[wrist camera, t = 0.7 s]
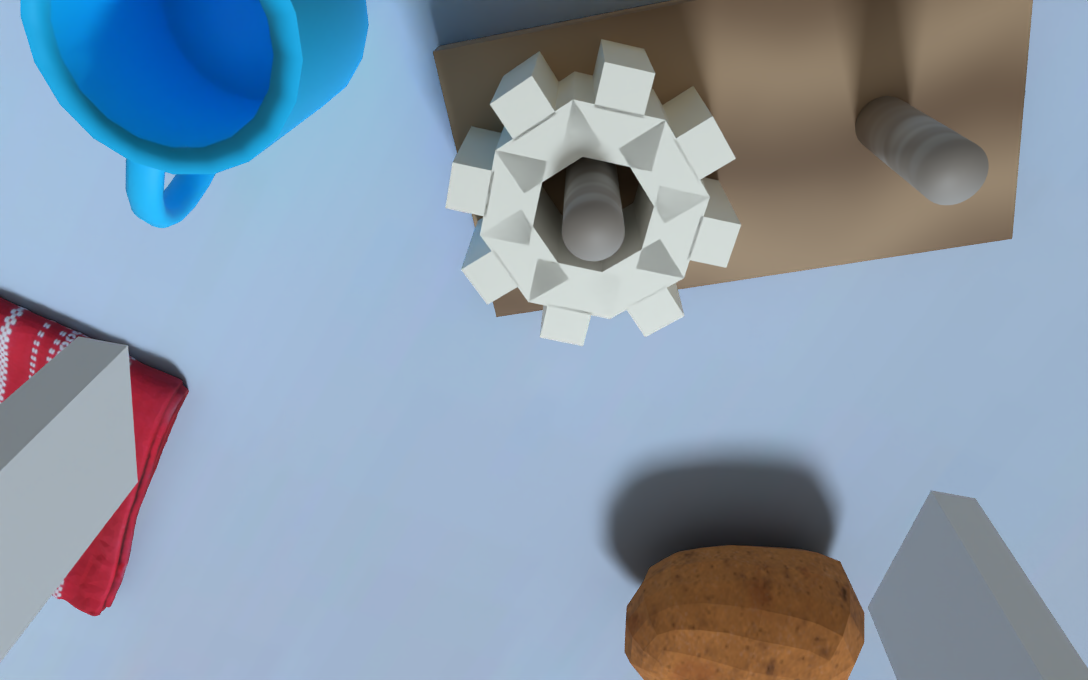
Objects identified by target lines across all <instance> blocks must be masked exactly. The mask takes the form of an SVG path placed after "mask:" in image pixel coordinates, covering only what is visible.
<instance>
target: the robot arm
mask: <svg viewBox="0 0 1088 680" xmlns="http://www.w3.org/2000/svg"><path fill="white" fill-rule="evenodd" d="M137 482H138V478H137V464H136V450H135V436H134V422H133V408H132V394H131V380H130V366H129V352H128V345H123V344H118V343H112V342H107V341H101V340H96V339H90V338H84V337H79V336H78V337H77V338H76V339H75V340H74V341H72V342H71V343H70V344H69V345H68V346H67V347H65V348H64V349H63V350H62V351H61V352H60V353H59V354H57V355H56V356H55V357H54V358H53V359H52V360H50V361H49V362H48V363H47V364H46V365H45V366H44V367H42V368H41V369H40V370H39V371H38V372H37V373H35V374H34V375H33V376H32V377H31V378H30V379H29V380H27V381H26V382H25V383H24V384H23V385H22V386H21V387H19V388H18V389H17V390H16V391H15V392H14V393H12V394H11V395H10V396H9V397H8V398H7V399H6V400H4V401H3V402H2V403H1V404H0V662H1V661H2V660H3V658H4V657H5V656H6V655H7V653H8V652H9V651H10V649H11V648H12V647H13V645H14V644H15V643H16V641H17V640H18V639H19V637H20V636H21V635H22V634H23V632H24V631H25V630H26V628H27V627H28V626H29V624H30V623H31V622H32V620H33V619H34V618H35V616H36V615H37V614H38V612H39V611H40V610H41V609H42V607H43V606H44V605H45V603H46V602H47V601H48V599H49V598H50V597H51V595H52V594H53V593H54V591H55V590H56V589H57V588H58V586H59V585H60V584H61V582H62V581H63V580H64V578H65V577H66V576H67V574H68V573H69V572H70V570H71V569H72V568H73V567H74V565H75V564H76V563H77V561H78V560H79V559H80V557H81V556H82V555H83V553H84V552H85V551H86V549H87V548H88V547H89V545H90V544H91V543H92V542H93V540H94V539H95V538H96V536H97V535H98V534H99V532H100V531H101V530H102V528H103V527H104V526H105V524H106V523H107V522H108V521H109V519H110V518H111V517H112V515H113V514H114V513H115V511H116V510H117V509H118V507H119V506H120V505H121V503H122V502H123V501H124V500H125V498H126V497H127V496H128V494H129V493H130V492H131V490H132V489H133V488H134V486H135V485H136V484H137ZM868 609H869V612H870V614H871V617H872V619H873V621H874V624H875V626H876V629H877V631H878V634H879V636H880V639H881V641H882V644H883V646H884V648H885V651H886V653H887V656H888V658H889V661H890V663H891V666H892V668H893V671H894V673H895V675H896V678H897V680H1088V668H1087V667H1086V665H1085V664H1084V662H1083V661H1082V659H1081V658H1080V656H1079V655H1078V653H1077V652H1076V650H1075V649H1074V647H1073V646H1072V644H1071V643H1070V641H1069V639H1068V638H1067V636H1066V635H1065V633H1064V632H1063V630H1062V629H1061V627H1060V626H1059V624H1058V623H1057V621H1056V620H1055V618H1054V617H1053V615H1052V614H1051V612H1050V611H1049V609H1048V608H1047V606H1046V605H1045V603H1044V602H1043V600H1042V599H1041V597H1040V596H1039V594H1038V593H1037V591H1036V590H1035V588H1034V587H1033V585H1032V584H1031V582H1030V580H1029V579H1028V577H1027V576H1026V574H1025V573H1024V571H1023V570H1022V568H1021V567H1020V565H1019V564H1018V562H1017V561H1016V559H1015V558H1014V556H1013V555H1012V553H1011V552H1010V550H1009V549H1008V547H1007V546H1006V544H1005V543H1004V541H1003V540H1002V538H1001V537H1000V535H999V534H998V532H997V531H996V529H995V528H994V526H993V525H992V523H991V521H990V520H989V518H988V517H987V515H986V514H985V512H984V511H983V509H982V508H981V506H980V505H979V503H978V502H977V500H976V499H975V498H970V497H964V496H959V495H953V494H948V493H942V492H936V491H931V492H930V494H929V495H928V497H927V499H926V501H925V503H924V505H923V507H922V508H921V510H920V512H919V514H918V516H917V518H916V519H915V521H914V523H913V525H912V527H911V529H910V530H909V532H908V534H907V536H906V538H905V540H904V541H903V543H902V545H901V547H900V549H899V551H898V552H897V554H896V556H895V558H894V560H893V562H892V563H891V565H890V567H889V569H888V571H887V573H886V574H885V576H884V578H883V580H882V582H881V584H880V586H879V587H878V589H877V591H876V593H875V595H874V597H873V598H872V600H871V602H870V604H869V606H868Z"/></svg>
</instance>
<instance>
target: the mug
mask: <svg viewBox="0 0 1088 680" xmlns="http://www.w3.org/2000/svg"><path fill="white" fill-rule="evenodd" d="M21 19H22V22H23V25H24V29H25V32H26V35H27V39H28V42H29V45H30V49H31V52H32V55H33V59H34V62H35V64H36V65H37V67H38V69H39V70H40V72H41V74H42V75H43V77H44V79H45V80H46V82H47V84H48V85H49V87H50V89H51V90H52V92H53V94H54V95H55V97H56V99H57V100H58V102H59V104H60V105H61V106H62V107H63V108H64V109H65V110H66V111H67V112H68V113H69V114H70V115H71V116H72V117H73V118H74V119H75V120H76V121H77V122H78V123H79V124H80V125H81V126H82V127H83V128H84V129H85V130H86V131H87V132H88V133H89V134H90V135H91V136H92V137H93V138H94V139H96V140H97V141H99V142H101V143H102V144H104V145H106V146H107V147H109V148H110V149H112V150H114V151H115V152H117V153H119V154H120V155H122V156H123V157H125V158H126V192H127V196H128V199H129V202H130V206H131V209H132V211H133V212H134V214H135V215H136V216H137V217H139V218H140V219H142V220H144V221H145V222H147V223H149V224H150V225H152V226H155V227H158V228H165V227H169V226H171V225H174V224H176V223H178V222H180V221H182V220H183V219H184V218H185V217H186V216H187V215H188V214H189V213H190V212H191V211H192V210H193V208H194V207H195V206H196V205H197V203H198V202H199V200H200V199H201V197H202V196H203V194H204V193H205V191H206V190H207V188H208V187H209V185H210V183H211V181H212V179H213V178H214V176H215V174H216V173H218V172H221V171H224V170H226V169H229V168H232V167H235V166H238V165H241V164H243V163H246V162H249V161H250V160H252V159H253V158H254V157H256V156H257V155H258V154H260V153H261V152H262V151H264V150H265V149H266V148H268V147H269V146H270V145H272V144H273V143H274V142H276V141H277V140H278V139H280V138H281V137H282V136H284V135H285V134H286V133H288V132H289V131H290V130H292V129H293V128H294V127H296V126H297V125H298V124H300V123H301V122H302V121H304V120H305V119H306V118H308V117H309V116H310V115H312V114H313V113H314V112H316V111H317V110H318V109H320V108H321V107H323V106H324V105H325V104H326V103H327V102H329V101H330V100H331V99H332V98H333V97H334V96H336V95H337V94H338V93H339V92H340V91H341V90H343V89H344V88H345V87H346V86H347V85H348V83H349V81H350V79H351V78H352V76H353V74H354V72H355V70H356V69H357V67H358V65H359V63H360V62H361V60H362V57H363V52H364V47H365V41H366V36H367V31H368V25H369V24H368V15H367V6H366V0H21ZM165 172H168V173H171V174H176V175H175V177H174V178H173V180H172V181H171V183H170V184H169V185H168V187H167V188H166V189H165V190H164V178H165Z"/></svg>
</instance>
